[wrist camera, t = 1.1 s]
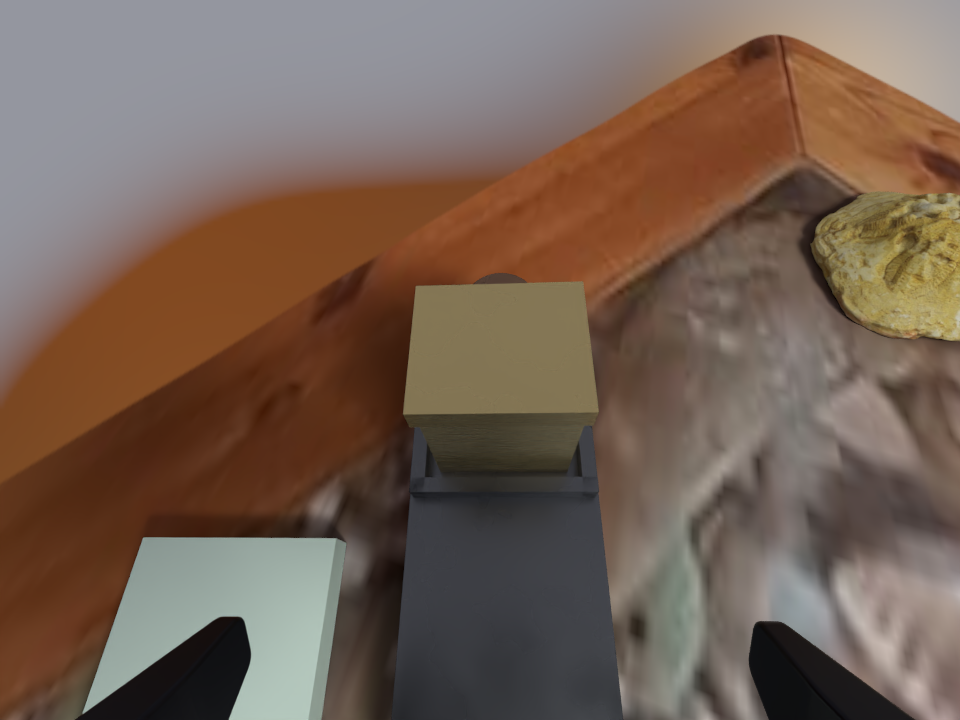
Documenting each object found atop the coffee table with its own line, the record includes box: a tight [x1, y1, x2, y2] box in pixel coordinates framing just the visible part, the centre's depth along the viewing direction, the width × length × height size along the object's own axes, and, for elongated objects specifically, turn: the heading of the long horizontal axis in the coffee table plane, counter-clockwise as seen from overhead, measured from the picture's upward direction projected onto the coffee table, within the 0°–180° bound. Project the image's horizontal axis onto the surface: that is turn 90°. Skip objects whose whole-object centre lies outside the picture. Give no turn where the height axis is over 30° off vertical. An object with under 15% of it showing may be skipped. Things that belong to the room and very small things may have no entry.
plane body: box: [391, 273, 623, 720], centre depth 19 cm, size 22×8×6 cm, turn 179°
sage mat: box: [83, 537, 347, 720], centre depth 20 cm, size 9×9×2 cm
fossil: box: [810, 192, 960, 341], centre depth 27 cm, size 11×6×10 cm
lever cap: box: [403, 282, 599, 473], centre depth 18 cm, size 5×6×8 cm
